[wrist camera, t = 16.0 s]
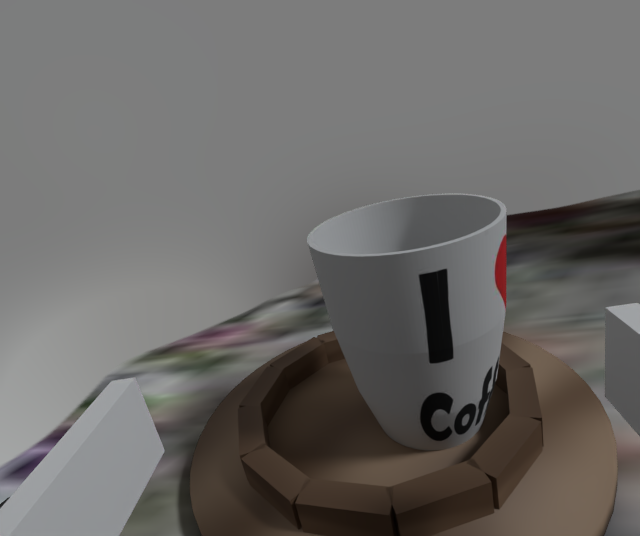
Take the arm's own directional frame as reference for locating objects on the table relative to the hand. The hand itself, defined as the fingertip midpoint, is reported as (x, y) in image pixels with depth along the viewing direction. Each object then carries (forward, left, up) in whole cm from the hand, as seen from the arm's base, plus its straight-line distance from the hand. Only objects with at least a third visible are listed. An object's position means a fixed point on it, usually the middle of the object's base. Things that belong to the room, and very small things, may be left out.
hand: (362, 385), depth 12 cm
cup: (+4, -7, -8) cm, 11 cm away
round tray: (+6, -6, -8) cm, 12 cm away
